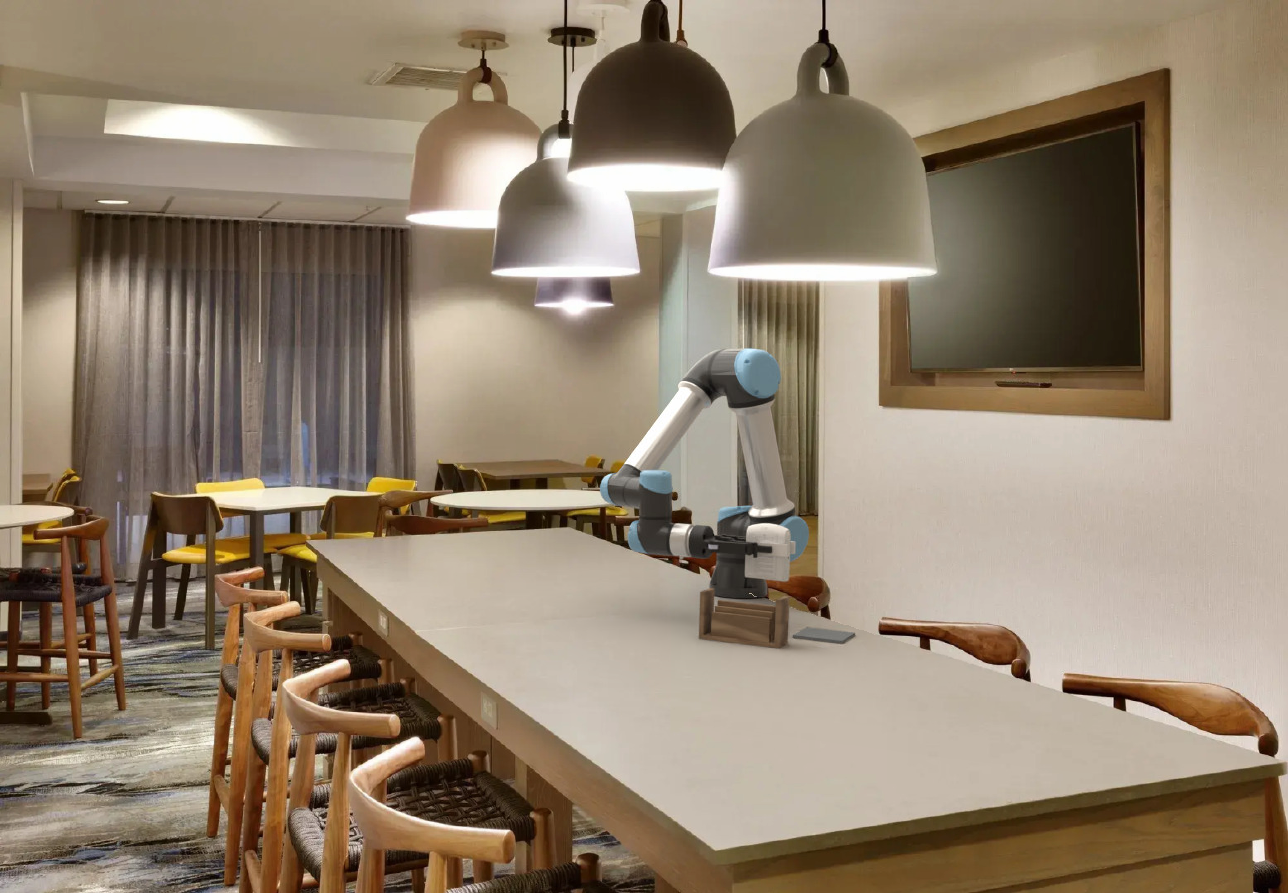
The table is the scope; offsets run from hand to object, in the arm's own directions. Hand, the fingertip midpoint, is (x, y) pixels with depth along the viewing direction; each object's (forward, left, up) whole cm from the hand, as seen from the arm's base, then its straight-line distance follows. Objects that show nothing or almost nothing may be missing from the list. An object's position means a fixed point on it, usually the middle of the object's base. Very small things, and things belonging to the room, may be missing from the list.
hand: (790, 549), depth 264 cm
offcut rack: (+14, -5, -18) cm, 24 cm away
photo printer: (0, -5, -7) cm, 9 cm away
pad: (0, +8, -18) cm, 20 cm away
